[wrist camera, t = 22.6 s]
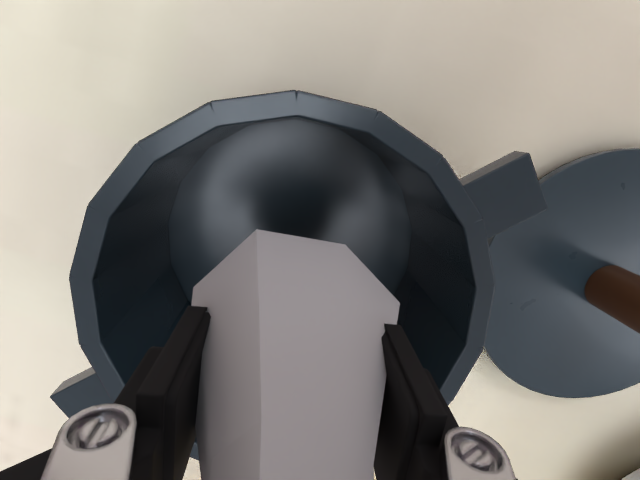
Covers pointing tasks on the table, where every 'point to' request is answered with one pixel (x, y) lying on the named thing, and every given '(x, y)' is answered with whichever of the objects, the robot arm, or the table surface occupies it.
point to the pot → (289, 227)
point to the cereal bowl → (633, 475)
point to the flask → (291, 362)
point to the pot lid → (572, 282)
